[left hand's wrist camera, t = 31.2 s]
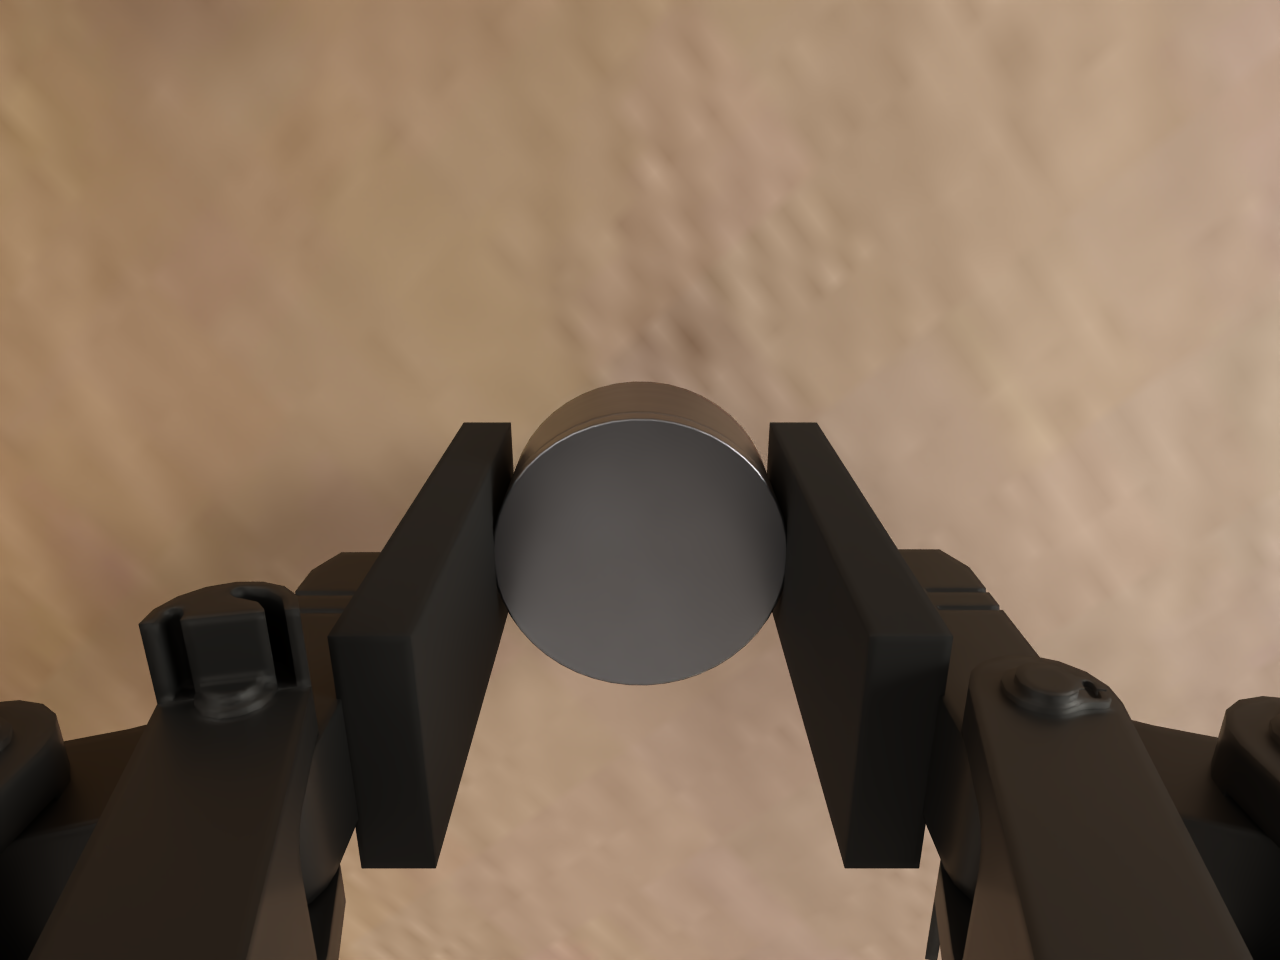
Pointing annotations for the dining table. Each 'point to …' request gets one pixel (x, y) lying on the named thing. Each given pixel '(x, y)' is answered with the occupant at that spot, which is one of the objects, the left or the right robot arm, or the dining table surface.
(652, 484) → the cap
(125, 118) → the dining table surface
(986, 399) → the dining table surface
